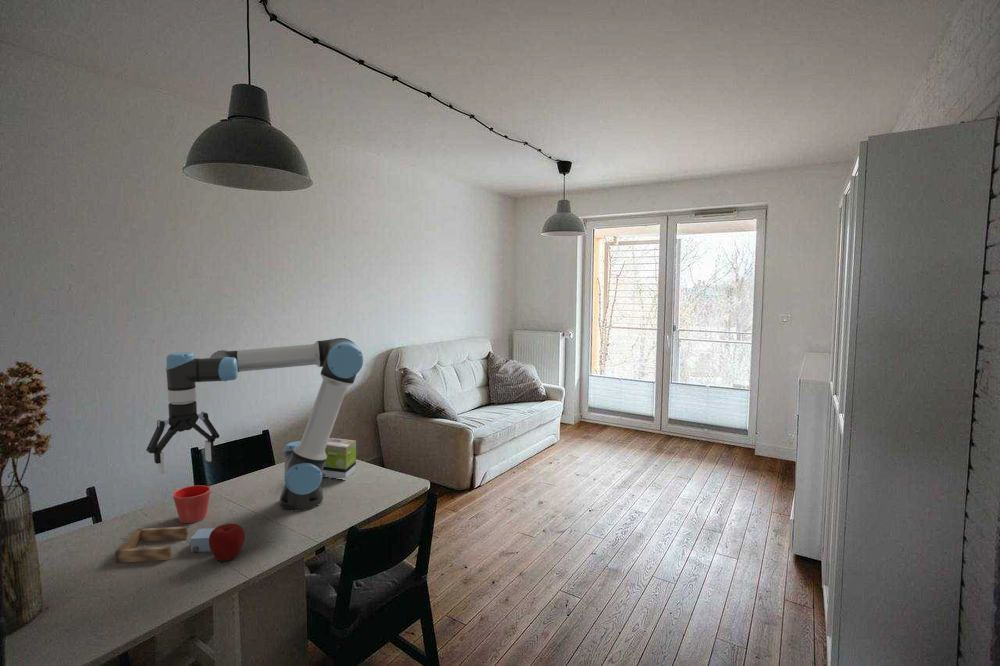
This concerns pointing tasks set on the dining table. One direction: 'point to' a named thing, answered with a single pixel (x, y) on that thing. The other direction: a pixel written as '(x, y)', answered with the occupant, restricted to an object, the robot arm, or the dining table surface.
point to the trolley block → (201, 540)
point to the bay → (133, 554)
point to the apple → (226, 541)
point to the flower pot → (192, 503)
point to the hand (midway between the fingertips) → (185, 466)
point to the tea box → (339, 458)
